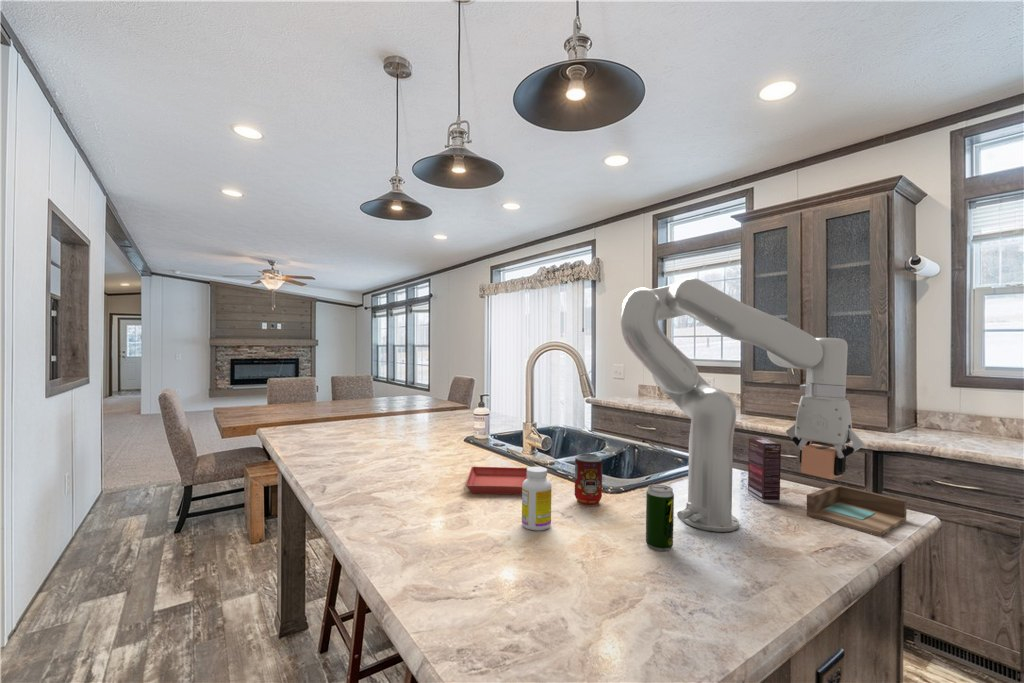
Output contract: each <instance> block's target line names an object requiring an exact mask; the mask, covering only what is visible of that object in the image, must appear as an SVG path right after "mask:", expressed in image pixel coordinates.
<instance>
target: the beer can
mask: <svg viewBox="0 0 1024 683" xmlns="http://www.w3.org/2000/svg"><path fill="white" fill-rule="evenodd" d="M673 490H674V489H673V487H671V486H670V485H664V484H659V483H658V484H657V483H656V484H655V483H653V484H649V485H648V486H647V490H646V492H645V494H646V496H645V498H646V500H645V501H646V504H645V505H646V506H645V508H646V509H645V544H646V545H647V547H648V548H649V549H651V550H653V551H657V552H669V551H671V550H672V548H673V546H674V519H675V518H674V514H675V513H674V511H675V509H674V508H675V507H674V506H675V503H674V502H675V493H674V491H673Z"/></svg>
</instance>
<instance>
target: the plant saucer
mask: <svg viewBox="0 0 1024 683" xmlns="http://www.w3.org/2000/svg"><path fill="white" fill-rule="evenodd" d="M527 468H528V467H506V466H504V467H501V466H500V467H499V466H472V467H470V469H469V470H470V471H469V473H468V476H467V480H466V482H465V487H466V488H467V489H468V491H469V492H470V493H471V494H480V495H481V494H489V495H490V494H491V495H493V494H494V495H495V494H496V495H522V483H523V481H524V480H525V479H527V478H528V476H527Z"/></svg>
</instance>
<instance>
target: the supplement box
mask: <svg viewBox="0 0 1024 683" xmlns="http://www.w3.org/2000/svg"><path fill="white" fill-rule="evenodd" d="M781 450H782V443H779V442H776V441H773V440H771V439H768V438H766V437H757V436H755V437H753V436H751V437H748V466H747V468H748V472H747V476H748V477H747V494H749V495H751V496H752V497H754V498H755V499H757V500H759V501H760V502H761V503H766V504H780V503H781V462H782V461H781V460H782V458H781V456H782V453H781V452H782V451H781Z"/></svg>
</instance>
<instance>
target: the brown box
mask: <svg viewBox="0 0 1024 683" xmlns="http://www.w3.org/2000/svg"><path fill="white" fill-rule="evenodd" d="M835 457H837V453H836V451H835V448H834V446H833V447H831V446H828V445H823V444H822V445H821V444H817V443H811V444H810V445H806V446H802V462H801V463H800V473H803V474H807V475H809V476H810V475H811V476H814V477H819V478H824V479H827V480H828V479H829V480H833V479H836V478H840V477H842V476H843V474H842V475H839V476H836V475H834V460H835Z"/></svg>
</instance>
